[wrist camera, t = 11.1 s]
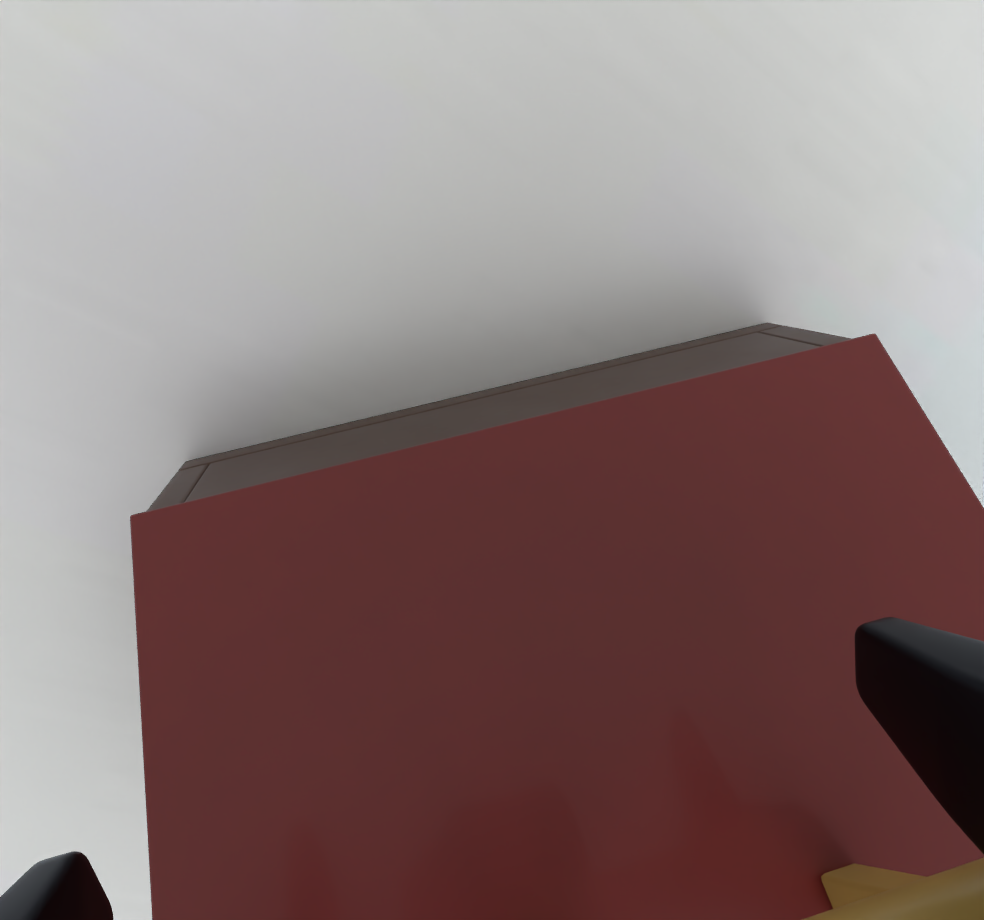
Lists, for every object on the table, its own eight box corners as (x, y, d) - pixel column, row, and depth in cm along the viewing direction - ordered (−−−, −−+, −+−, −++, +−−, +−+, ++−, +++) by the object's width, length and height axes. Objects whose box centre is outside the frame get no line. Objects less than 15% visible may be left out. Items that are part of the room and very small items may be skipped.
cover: (1223, 949, 11) (1831, 1078, 6) (196, 1333, 10) (-158, 1968, 4) (861, 349, 17) (1030, 143, 11) (144, 526, 15) (-49, 378, 10)
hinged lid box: (791, 658, 24) (868, 731, 20) (308, 802, 22) (298, 910, 19) (768, 321, 20) (857, 338, 17) (184, 461, 18) (142, 513, 15)
